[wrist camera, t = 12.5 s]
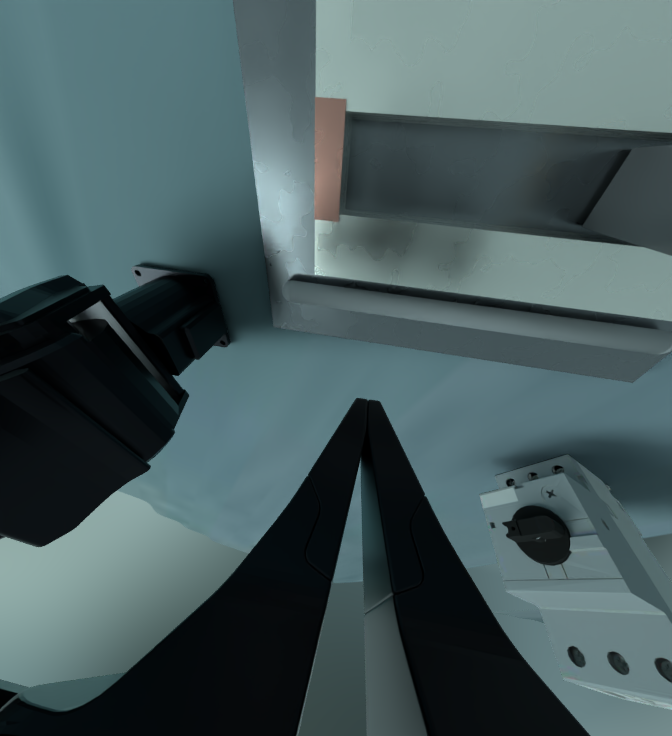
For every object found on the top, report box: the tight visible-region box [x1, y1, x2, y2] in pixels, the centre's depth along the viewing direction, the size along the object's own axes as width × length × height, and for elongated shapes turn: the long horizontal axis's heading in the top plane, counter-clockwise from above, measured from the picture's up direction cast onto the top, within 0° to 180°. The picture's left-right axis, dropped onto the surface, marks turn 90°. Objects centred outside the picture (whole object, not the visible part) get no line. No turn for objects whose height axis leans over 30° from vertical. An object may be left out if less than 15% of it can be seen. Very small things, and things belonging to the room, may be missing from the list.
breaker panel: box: [233, 0, 672, 383], centre depth 11 cm, size 26×20×3 cm
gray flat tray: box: [282, 280, 672, 354], centre depth 11 cm, size 23×14×1 cm, turn 86°
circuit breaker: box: [479, 454, 672, 710], centre depth 21 cm, size 8×14×15 cm, turn 56°
